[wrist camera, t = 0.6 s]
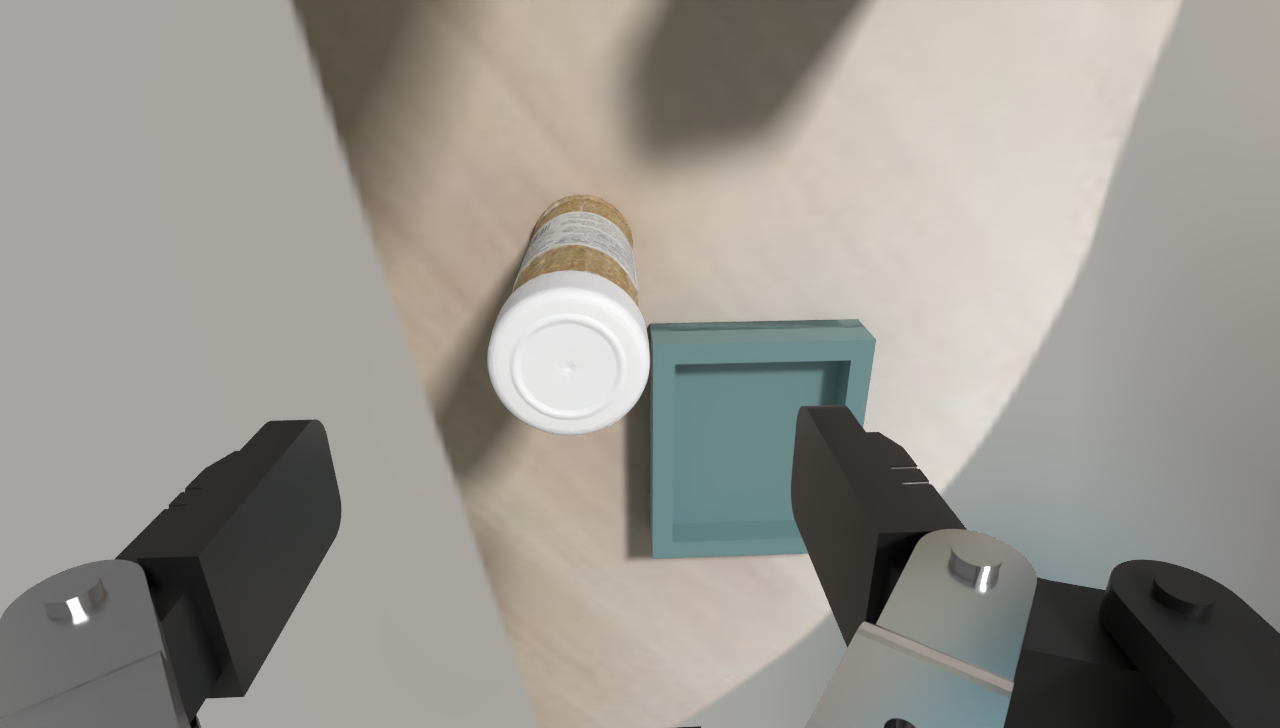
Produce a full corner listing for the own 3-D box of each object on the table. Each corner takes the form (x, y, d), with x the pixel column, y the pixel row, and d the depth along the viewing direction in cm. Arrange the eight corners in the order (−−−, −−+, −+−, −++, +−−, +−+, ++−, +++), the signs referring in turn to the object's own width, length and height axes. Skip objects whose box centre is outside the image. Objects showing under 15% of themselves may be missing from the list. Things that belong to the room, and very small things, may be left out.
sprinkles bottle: (584, 309, 33) (571, 469, 20) (511, 242, 31) (448, 370, 19) (655, 241, 31) (685, 368, 19) (581, 168, 30) (564, 255, 18)
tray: (650, 323, 33) (653, 344, 31) (857, 319, 33) (875, 339, 31) (649, 527, 38) (652, 558, 36) (830, 521, 38) (844, 551, 36)
